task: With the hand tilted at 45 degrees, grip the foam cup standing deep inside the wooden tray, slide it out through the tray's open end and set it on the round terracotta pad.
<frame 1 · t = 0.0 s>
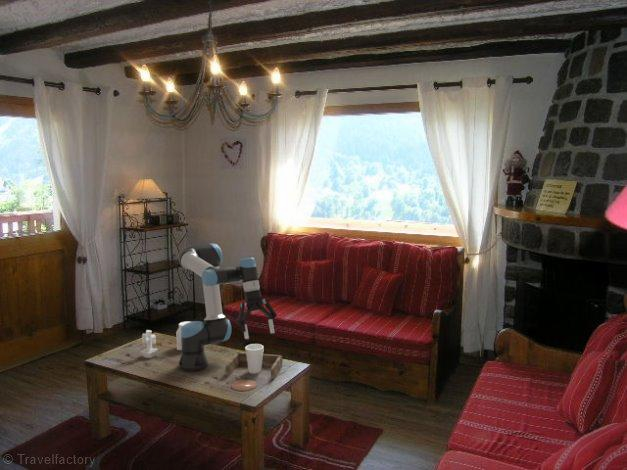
hand: (260, 336, 234), 28 cm above the table, tool tilted 20°, fingers open, 13 cm apart
wooden tray: (254, 371, 263), on the table
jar: (186, 348, 296), on the table
figurine: (149, 356, 283), on the table
foam cup: (254, 371, 263), on the table
terracotta pad: (244, 385, 246), on the table
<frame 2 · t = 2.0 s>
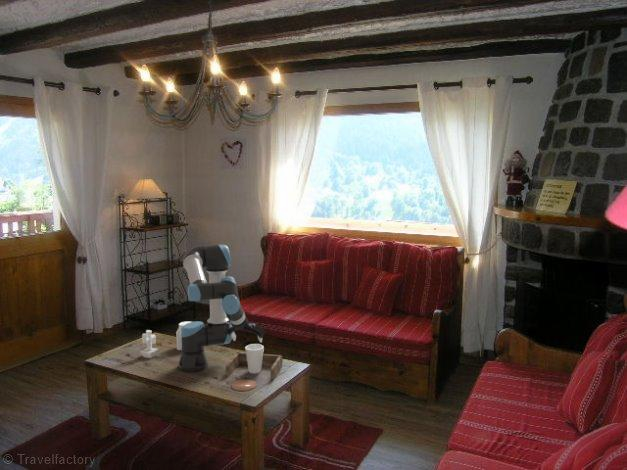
hand: (248, 339, 250), 21 cm above the table, tool tilted 45°, fingers open, 13 cm apart
nothing on the table moved.
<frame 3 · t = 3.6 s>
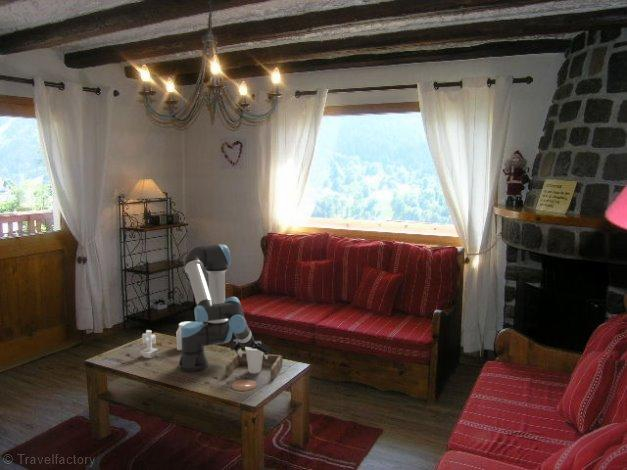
hand: (254, 355, 259), 10 cm above the table, tool tilted 45°, fingers open, 13 cm apart
nothing on the table moved.
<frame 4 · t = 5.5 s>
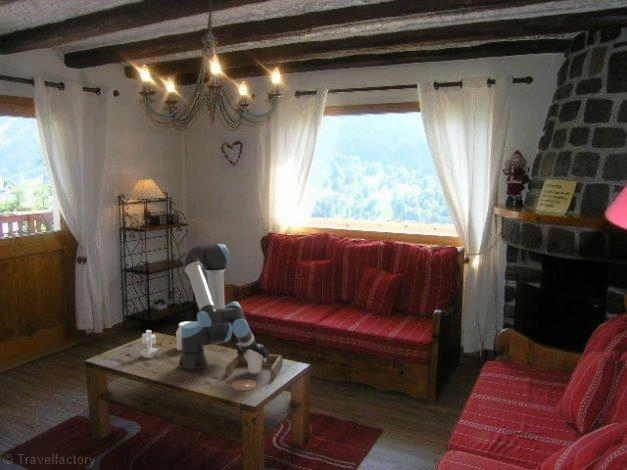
hand: (256, 358, 266), 5 cm above the table, tool tilted 45°, fingers closed on foam cup, 9 cm apart
foam cup: (254, 371, 263), on the table, touching gripper
everything else where it was.
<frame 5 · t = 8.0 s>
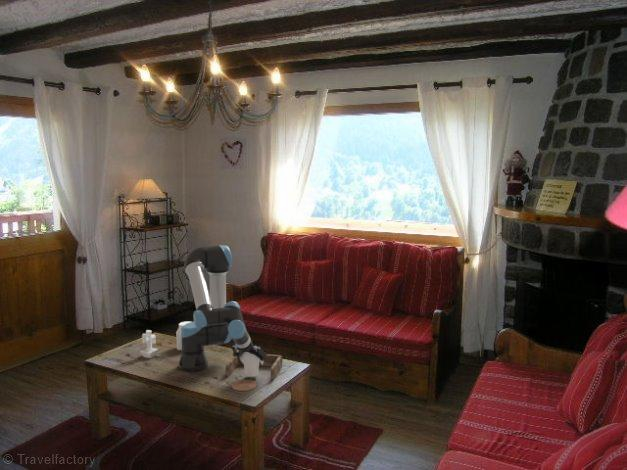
hand: (253, 361, 257), 7 cm above the table, tool tilted 45°, fingers closed on foam cup, 9 cm apart
foam cup: (251, 374, 255), point 2 cm above the table, touching gripper
everything else where it was.
when the fingers open (7 cm above the table, at t = 10.7 s): foam cup stays where it is, resting on terracotta pad.
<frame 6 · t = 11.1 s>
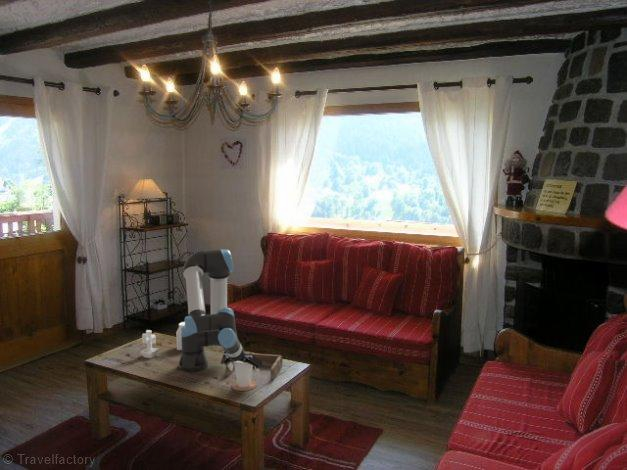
hand: (245, 369, 247), 7 cm above the table, tool tilted 45°, fingers open, 13 cm apart
foam cup: (243, 384, 246), resting on terracotta pad
everything else where it was.
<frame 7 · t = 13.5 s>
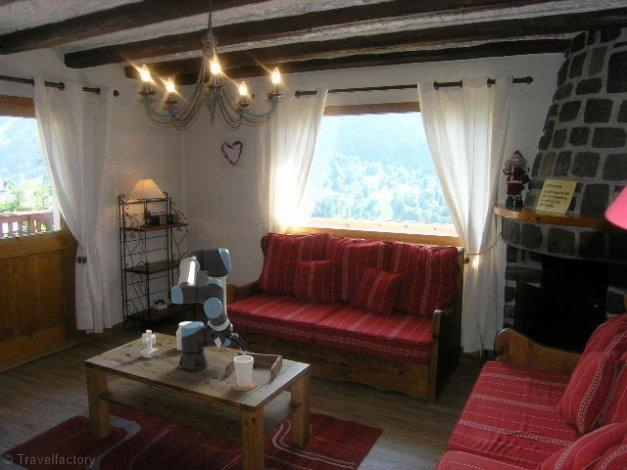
hand: (232, 349, 237), 21 cm above the table, tool tilted 40°, fingers open, 13 cm apart
nothing on the table moved.
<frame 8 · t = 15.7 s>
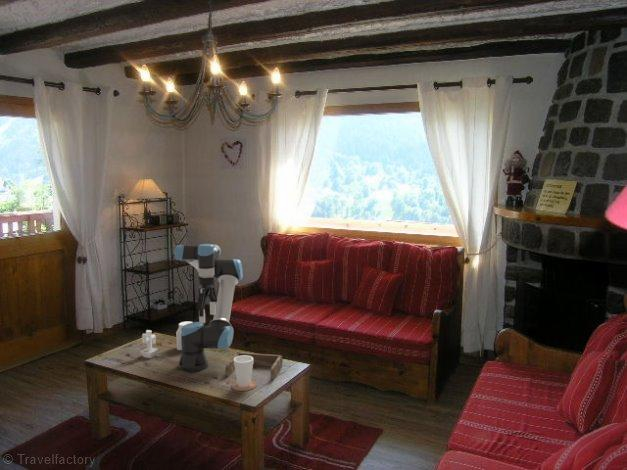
hand: (207, 318, 248), 32 cm above the table, tool pointing down, fingers open, 13 cm apart
nothing on the table moved.
at the end: foam cup 0.0 cm from the terracotta pad (horizontally); foam cup tilted 0°; the gripper is holding nothing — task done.
